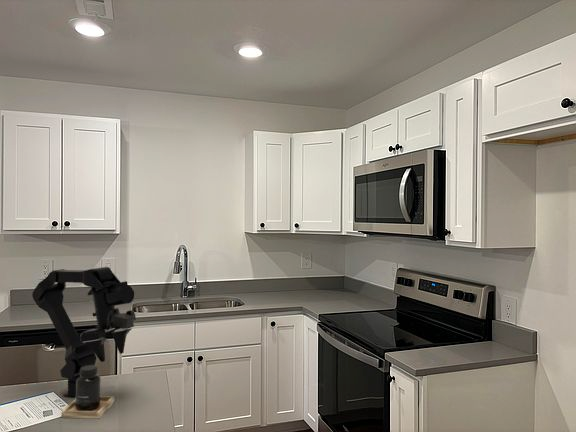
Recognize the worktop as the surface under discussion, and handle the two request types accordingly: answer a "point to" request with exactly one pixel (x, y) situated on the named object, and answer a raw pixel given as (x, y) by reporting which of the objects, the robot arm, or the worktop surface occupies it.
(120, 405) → the worktop surface
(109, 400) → the tray
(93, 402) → the supplement bottle
